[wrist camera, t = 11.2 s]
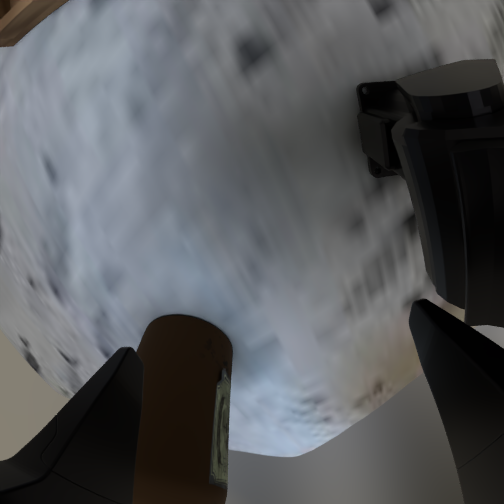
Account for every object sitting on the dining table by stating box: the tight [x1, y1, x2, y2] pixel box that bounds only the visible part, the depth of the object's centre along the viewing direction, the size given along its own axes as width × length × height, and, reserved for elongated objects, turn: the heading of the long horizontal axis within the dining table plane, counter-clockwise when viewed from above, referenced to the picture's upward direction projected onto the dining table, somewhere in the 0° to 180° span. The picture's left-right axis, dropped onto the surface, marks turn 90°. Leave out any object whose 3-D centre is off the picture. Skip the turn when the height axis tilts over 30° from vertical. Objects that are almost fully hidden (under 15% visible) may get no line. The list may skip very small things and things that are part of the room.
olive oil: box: [133, 315, 233, 504], centre depth 18 cm, size 11×11×25 cm
